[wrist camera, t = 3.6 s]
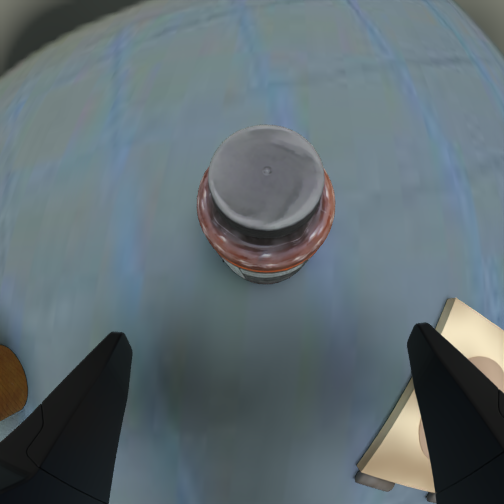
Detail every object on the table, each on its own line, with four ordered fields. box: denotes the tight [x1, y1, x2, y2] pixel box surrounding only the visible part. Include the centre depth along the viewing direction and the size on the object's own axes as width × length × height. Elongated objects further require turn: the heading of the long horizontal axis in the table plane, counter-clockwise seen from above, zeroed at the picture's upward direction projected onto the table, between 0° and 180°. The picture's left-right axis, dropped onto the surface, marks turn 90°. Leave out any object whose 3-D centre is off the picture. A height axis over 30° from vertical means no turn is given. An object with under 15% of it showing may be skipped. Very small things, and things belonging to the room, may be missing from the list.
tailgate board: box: [355, 298, 504, 503], centre depth 18 cm, size 15×12×1 cm
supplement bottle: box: [197, 125, 335, 284], centre depth 16 cm, size 6×6×11 cm
